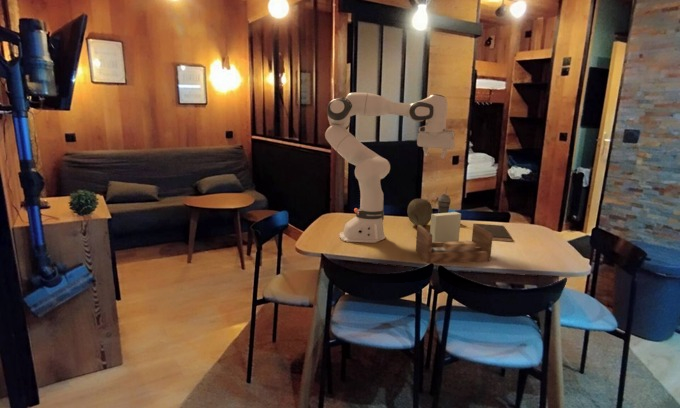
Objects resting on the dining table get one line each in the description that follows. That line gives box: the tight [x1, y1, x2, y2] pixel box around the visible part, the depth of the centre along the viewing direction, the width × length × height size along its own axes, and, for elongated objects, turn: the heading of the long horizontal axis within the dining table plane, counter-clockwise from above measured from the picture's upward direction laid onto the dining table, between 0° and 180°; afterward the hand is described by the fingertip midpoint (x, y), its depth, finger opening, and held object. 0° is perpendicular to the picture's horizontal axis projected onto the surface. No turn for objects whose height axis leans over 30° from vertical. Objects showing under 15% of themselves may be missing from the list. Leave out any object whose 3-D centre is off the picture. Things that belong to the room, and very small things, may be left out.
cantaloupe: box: [407, 198, 434, 227], centre depth 221 cm, size 14×14×15 cm
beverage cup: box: [437, 187, 451, 213], centre depth 231 cm, size 7×7×20 cm
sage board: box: [429, 211, 462, 242], centre depth 193 cm, size 14×4×14 cm, turn 112°
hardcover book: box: [476, 223, 514, 243], centre depth 210 cm, size 16×23×2 cm
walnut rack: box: [415, 223, 493, 264], centre depth 174 cm, size 28×15×12 cm, turn 97°
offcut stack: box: [432, 240, 476, 252], centre depth 171 cm, size 20×4×8 cm, turn 97°
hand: (434, 157), depth 201 cm, fingers open, 8 cm apart
